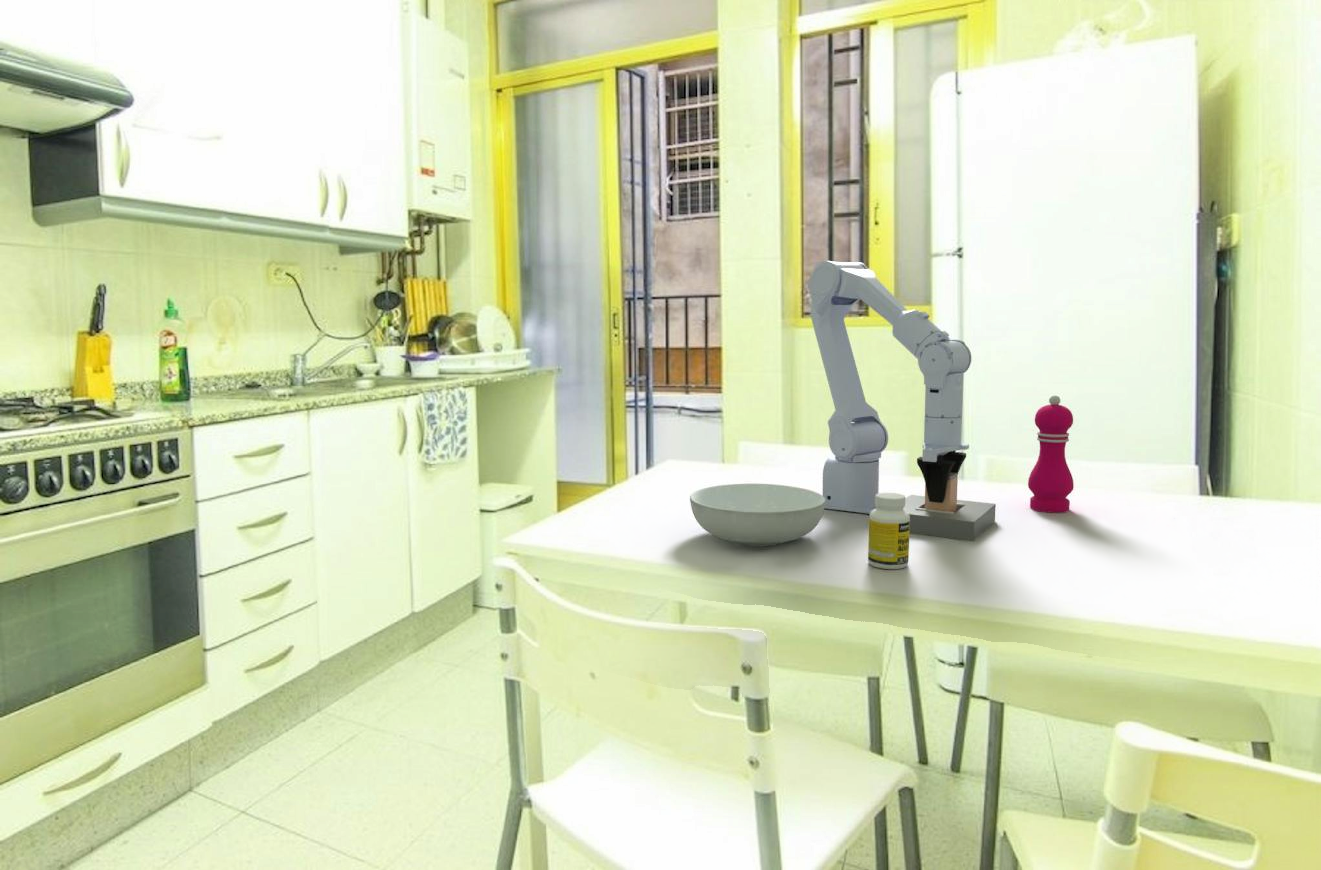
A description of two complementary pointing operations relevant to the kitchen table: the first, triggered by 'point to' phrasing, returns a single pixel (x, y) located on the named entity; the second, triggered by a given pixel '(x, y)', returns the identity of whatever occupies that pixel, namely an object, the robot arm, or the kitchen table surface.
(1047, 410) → the pepper mill
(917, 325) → the robot arm
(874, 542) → the supplement bottle
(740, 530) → the serving bowl
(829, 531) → the kitchen table surface
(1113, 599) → the kitchen table surface
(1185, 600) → the kitchen table surface
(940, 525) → the socket block
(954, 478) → the plug
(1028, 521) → the kitchen table surface
